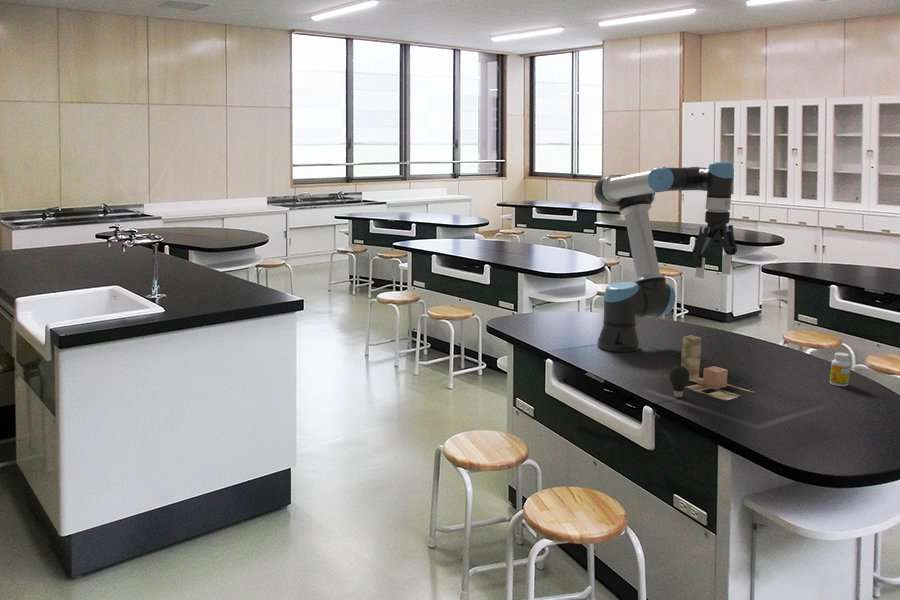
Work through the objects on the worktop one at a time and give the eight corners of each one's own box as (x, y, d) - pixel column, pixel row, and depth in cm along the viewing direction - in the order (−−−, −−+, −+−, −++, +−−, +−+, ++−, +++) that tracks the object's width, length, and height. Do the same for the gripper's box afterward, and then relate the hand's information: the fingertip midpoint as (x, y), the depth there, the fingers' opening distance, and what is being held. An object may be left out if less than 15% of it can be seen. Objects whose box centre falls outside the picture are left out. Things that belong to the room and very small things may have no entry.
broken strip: (685, 390, 249) (685, 386, 249) (696, 387, 252) (696, 384, 251) (727, 403, 237) (727, 399, 237) (738, 400, 240) (738, 397, 239)
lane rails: (683, 390, 248) (683, 386, 248) (712, 383, 256) (712, 379, 256) (725, 403, 236) (725, 399, 236) (754, 395, 244) (754, 391, 244)
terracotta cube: (702, 384, 251) (703, 368, 250) (712, 381, 254) (714, 366, 253) (716, 388, 247) (717, 372, 246) (726, 385, 250) (727, 369, 249)
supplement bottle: (825, 381, 259) (829, 351, 257) (842, 381, 260) (845, 351, 258) (835, 386, 254) (838, 356, 252) (851, 386, 254) (855, 356, 252)
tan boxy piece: (677, 379, 259) (680, 336, 256) (687, 377, 262) (690, 334, 259) (717, 392, 247) (720, 346, 244) (727, 389, 250) (731, 344, 247)
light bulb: (671, 394, 244) (674, 362, 242) (690, 398, 241) (692, 365, 239) (665, 399, 239) (667, 366, 237) (684, 403, 236) (686, 369, 234)
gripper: (702, 213, 255) (697, 280, 259) (751, 210, 269) (746, 274, 273) (683, 211, 261) (678, 277, 265) (732, 208, 275) (727, 271, 279)
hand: (712, 275), depth 269 cm, fingers open, 13 cm apart
